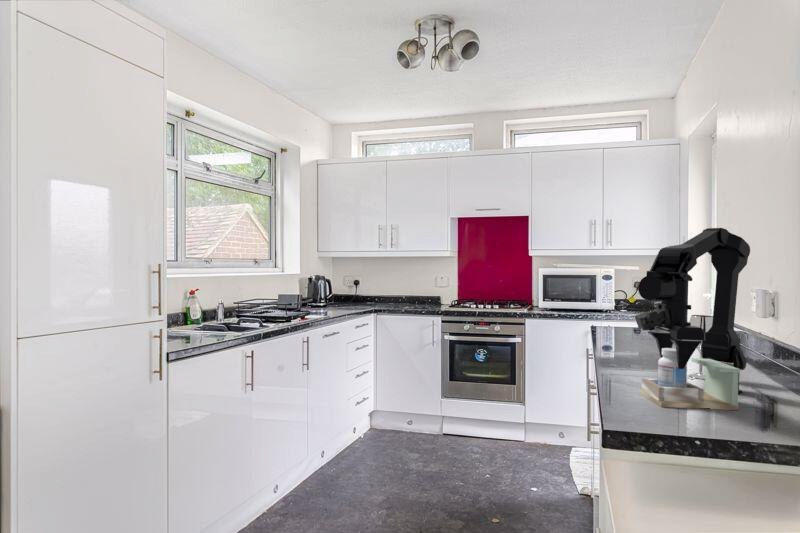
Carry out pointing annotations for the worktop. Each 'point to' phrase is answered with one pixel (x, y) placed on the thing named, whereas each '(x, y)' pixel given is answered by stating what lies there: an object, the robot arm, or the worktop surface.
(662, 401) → the socket board
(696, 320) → the wineglass
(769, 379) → the worktop surface
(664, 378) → the pill bottle
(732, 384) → the awning
